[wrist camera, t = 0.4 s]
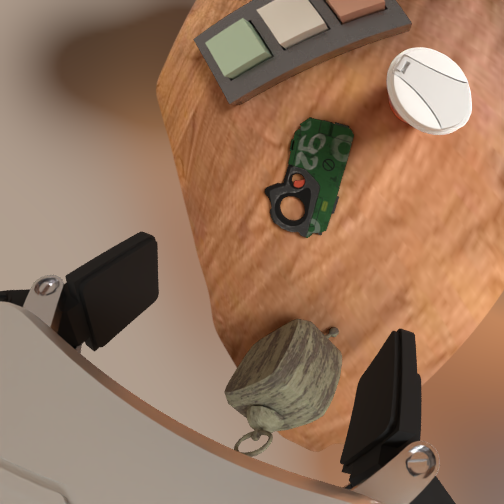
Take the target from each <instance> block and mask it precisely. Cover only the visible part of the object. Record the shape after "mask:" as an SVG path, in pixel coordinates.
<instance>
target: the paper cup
mask: <svg viewBox="0 0 504 504" xmlns="http://www.w3.org/2000/svg"><path fill="white" fill-rule="evenodd" d="M387 89H388V94H389V105H390V107H391V110H392V111H393V113H394V114H395V115H396V117H398V118H399V119H400V120H401V121H403V122H405V123H408V124H410V125H411V126H413V127H414V128H416V129H418V130H420V131H422V132H425V133H428V134H433V135H444V134H449V133H451V132H454V131H456V130H457V129H459V128H461V127H463V126H464V125H465V124H466V123H467V121H468V119H469V117H470V115H471V111H472V102H471V92H470V88H469V85H468V81H467V79H466V77H465V75H464V73H463V72H462V70H461V69H460V68H459V66H458V65H457V64H456V63H455V62H454V61H453V60H451V59H450V58H449V57H447V56H446V55H444V54H442V53H440V52H438V51H436V50H433V49H429V48H423V47H416V48H410V49H408V50H405V51H403V52H401V53H400V54H399V55H397V56H396V57H395V58H394V60H393V61H392V62H391V65H390V67H389V69H388V73H387Z"/></svg>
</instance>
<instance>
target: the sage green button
mask: <svg viewBox="0 0 504 504" xmlns="http://www.w3.org/2000/svg"><path fill="white" fill-rule="evenodd" d="M205 44H206V45H207V47H208V49H209V50H210V52H211V54H212V56H213V57H214V59H215V61H216V63H217V64H218V66H219V68H220V70H221V71H222V73H223V75H224V76H225V77H229V78H232V79H235V78H237V77H239V76H240V75H242V74H243V73H245V72H247V71H248V70H250V69H252V68H254V67H255V66H257V65H259V64H261V63H262V62H264V61H266V60H268V59H270V58H272V57H273V56H272V54H271V52H270V51H269V49H268V47H267V46H266V44H265V43H264V41H263V40H262V38H261V37H260V35H259V34H258V32H257V30H256V29H255V27H254V26H253V25H252V24H251V23H250V22H248V21H247V20H245V19H244V18H242V19H240V20H239V21H237V22H235V23H234V24H232V25H231V26H229V27H228V28H226V29H224V30H223V31H221V32H220V33H218V34H217V35H215V36H214V37H213V38H211V39H210V40H208V41H207V42H205Z"/></svg>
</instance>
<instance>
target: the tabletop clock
mask: <svg viewBox="0 0 504 504" xmlns="http://www.w3.org/2000/svg"><path fill="white" fill-rule="evenodd" d="M338 333H339V331H338V329H337V328H335V327H334V328H331V329H330V330H329V334H327V335H324V334H323V333H322V332H321V331H320V330H319V329H318V328H317V327H316V326H315V325H314V324H313V323H312V322H310V321H305V320H301V319H296V320H293V321H291V322H289V323H287V324H286V325H284V326H282V327H280V328H279V329H277V330H275V331H274V332H272V333H270V334H269V335H267V336H265V337H264V338H262V339H261V340H259V341H258V342H257V343H255V344H254V345H253V346H252V347H251V349H250V350H249V351H248V353H247V354H246V355H245V357H244V359H243V360H242V362H241V363H240V365H239V366H238V368H237V369H236V371H235V373H234V374H233V376H232V378H231V379H230V381H229V383H228V385H227V387H226V389H225V395H226V398H227V401H228V404H229V405H231V406H232V407H233V408H234V409H236V410H237V411H238V412H240V413H241V414H242V415H244V416H245V417H246V418H247V420H248V423H249V425H250V427H252V428H253V429H254V431H253V432H250V433H248V434H246V435H244V436H243V437H242V438H241V439H239V441H238V442H237V443H236V445H235V447H234V450H235V451H238V452H239V450H238V446H239V444H240V443H241V442H242V441H244V440H245V439H247V438H250V437H251V438H252V439H253V440H254V441H257V440H259V438H260V436H261V435H267V436H268V437H269V439H268V441H267V443H266V444H265V445H264V446H262V447H261V448H259V449H258V450H255V451H253V452H248V453H242V452H240V453H242V454H245V455H247V456H249V457H253V456H256V455H258V454H260V453H262V452H263V451H264V450H265V449H267V447H268V446H269V445H270V444H271V442H272V438H273V436H272V434H271V433H273V432H274V431H281V430H288V429H292V428H295V427H299V426H302V425H305V424H308V423H311V422H313V421H315V420H317V419H318V418H320V417H321V416H323V415H324V413H325V412H326V410H327V409H328V407H329V405H330V403H331V401H332V399H333V397H334V394H335V391H336V388H337V385H338V382H339V379H340V373H341V366H342V355H341V352H340V351H339V350H338V349H337V348H336V347H335V346H334V345H333V344H332V342H331V341H330V340H329V339H328V338H329V337H331V336H332V337H336V336H337V335H338Z"/></svg>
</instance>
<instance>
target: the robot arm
mask: <svg viewBox="0 0 504 504" xmlns="http://www.w3.org/2000/svg"><path fill="white" fill-rule="evenodd" d="M157 254H158V253H157V242H156V241H155V237H153V236H152V235H150V234H147V233H145V232H139V233H137V234H136V235H134V236H132V237H130V238H128V239H127V240H125V241H123V242H121V243H119V244H118V245H116V246H114V247H112V248H111V249H109V250H108V251H106V252H104V253H102V254H101V255H99V256H97V257H95V258H94V259H92V260H90V261H89V262H87V263H86V264H84V265H82V266H81V267H79V268H77V269H76V270H75V271H73V272H71V273H70V274H68V275H66V281H67V283H66V284H64V283H63V280H62V279H61V278H60V277H58V276H56V275H47V276H44V277H41V278H39V279H38V280H37V281H35V282H34V284H33V285H32V287H31V289H30V290H7V291H0V504H455V502H454V501H453V499H452V498H451V497H450V495H449V494H448V492H447V491H446V490H445V488H444V487H443V486H442V484H441V483H440V481H439V480H438V478H437V477H436V476H435V475H436V474H437V472H438V469H439V466H440V459H439V456H438V452H437V451H436V449H435V448H434V447H433V446H432V445H431V444H429V443H427V442H425V441H420V432H421V377H420V375H419V374H417V360H416V344H415V335H414V333H412V332H409V331H406V330H403V329H398V330H397V332H396V331H392V332H391V334H390V335H389V337H388V339H387V340H386V342H385V343H384V345H383V346H382V348H381V349H380V351H379V352H378V354H377V355H376V357H375V358H374V360H373V361H372V363H371V364H370V365H369V367H368V368H367V370H366V371H365V373H364V374H363V375H362V377H361V378H360V380H359V383H358V386H357V391H356V397H355V402H354V407H353V411H352V416H351V420H350V425H349V429H348V433H347V437H346V441H345V445H344V449H343V452H342V456H341V460H340V463H341V464H344V465H343V469H342V472H344V473H348V474H351V475H350V478H349V481H350V483H349V484H347V485H346V486H344V487H343V488H342V487H338V486H335V485H331V484H328V483H325V482H321V481H318V480H314V479H311V478H308V477H305V476H301V475H298V474H295V473H292V472H289V471H286V470H283V469H281V468H278V467H275V466H273V465H270V464H267V463H265V462H262V461H259V460H257V459H254V458H252V457H249V456H247V455H245V454H242V453H240V452H238V451H235V450H233V449H231V448H229V447H226V446H224V445H222V444H220V443H218V442H216V441H214V440H212V439H210V438H207V437H206V436H204V435H202V434H200V433H198V432H196V431H194V430H192V429H190V428H188V427H187V426H185V425H183V424H181V423H179V422H177V421H176V420H174V419H172V418H171V417H169V416H167V415H166V414H164V413H162V412H161V411H159V410H157V409H155V408H154V407H152V406H151V405H149V404H148V403H146V402H144V401H143V400H141V399H140V398H139V397H137V396H135V395H134V394H133V393H131V392H130V391H128V390H127V389H125V388H124V387H123V386H121V385H120V384H118V383H117V382H116V381H114V380H113V379H112V378H110V377H109V376H107V375H106V374H105V373H104V372H102V371H101V370H100V369H98V368H97V367H96V366H95V365H93V364H92V363H91V362H90V361H88V360H87V359H86V358H85V357H83V356H82V355H81V354H80V353H81V345H82V343H83V342H84V341H85V343H86V345H87V346H88V347H90V348H91V349H92V350H93V351H96V350H97V349H98V348H99V347H103V346H105V345H106V344H107V343H108V342H109V341H110V340H111V339H112V338H114V337H115V336H116V335H117V334H118V333H119V332H120V331H122V330H123V329H124V328H125V327H126V326H127V325H128V324H130V323H131V322H132V321H133V320H134V319H135V318H136V317H137V316H139V315H140V314H141V313H142V312H143V311H144V310H146V309H147V308H148V307H149V306H150V305H151V304H153V303H154V302H155V301H156V299H157V298H158V294H159V290H158V260H157V259H158V255H157Z"/></svg>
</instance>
